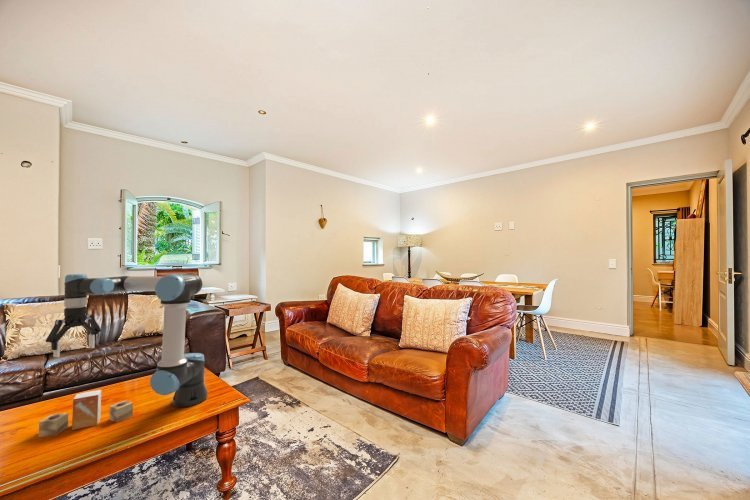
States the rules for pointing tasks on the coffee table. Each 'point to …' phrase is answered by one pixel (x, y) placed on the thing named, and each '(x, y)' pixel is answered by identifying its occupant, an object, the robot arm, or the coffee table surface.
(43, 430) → the marked block
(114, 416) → the marked block
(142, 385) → the coffee table surface
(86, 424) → the small box
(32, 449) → the coffee table surface
